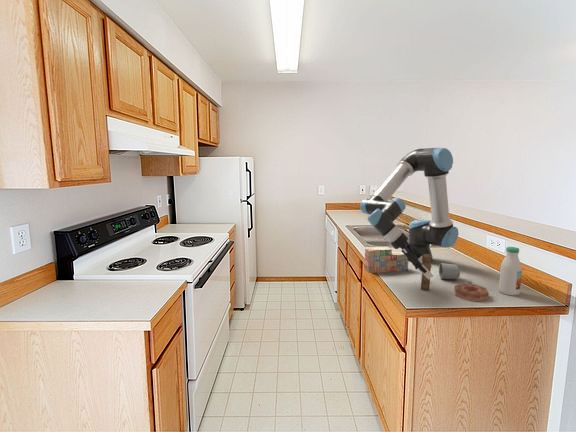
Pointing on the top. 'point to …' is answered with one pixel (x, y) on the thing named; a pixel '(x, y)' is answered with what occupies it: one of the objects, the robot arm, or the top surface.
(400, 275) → the top surface
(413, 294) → the top surface
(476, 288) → the terracotta faceted ring
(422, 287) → the dowel
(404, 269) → the stack of blocks
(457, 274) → the ceramic mug
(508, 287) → the milk bottle
